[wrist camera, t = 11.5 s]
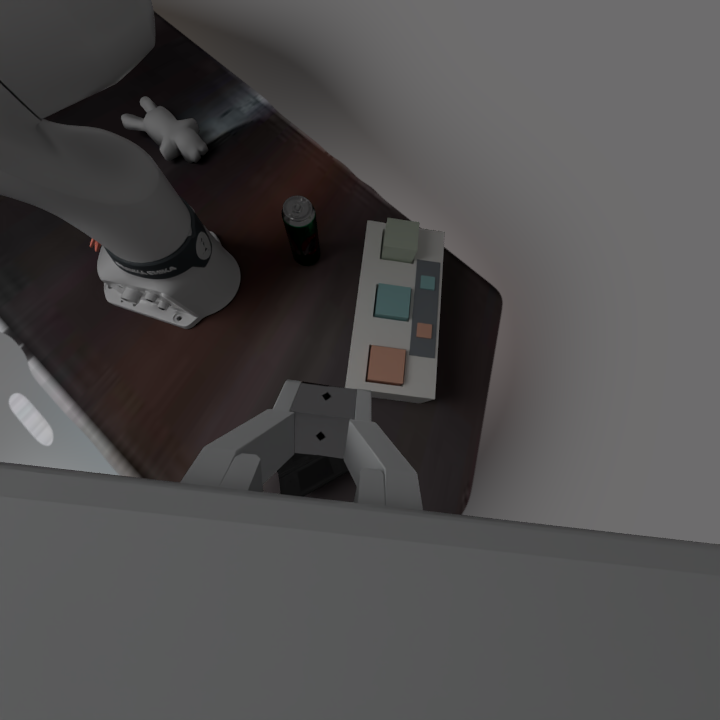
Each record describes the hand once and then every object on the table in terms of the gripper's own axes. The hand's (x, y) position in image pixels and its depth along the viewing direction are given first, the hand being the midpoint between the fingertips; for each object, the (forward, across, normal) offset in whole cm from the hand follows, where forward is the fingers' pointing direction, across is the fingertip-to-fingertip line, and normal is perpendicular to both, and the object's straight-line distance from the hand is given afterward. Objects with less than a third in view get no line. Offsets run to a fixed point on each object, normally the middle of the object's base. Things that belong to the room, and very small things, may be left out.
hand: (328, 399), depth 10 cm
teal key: (+36, -6, +10) cm, 38 cm away
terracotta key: (+29, -6, +17) cm, 35 cm away
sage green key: (+42, -6, +2) cm, 42 cm away
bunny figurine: (+62, +40, -9) cm, 75 cm away
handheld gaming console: (+23, +4, +31) cm, 38 cm away
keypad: (+39, -7, +13) cm, 42 cm away
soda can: (+47, +10, +6) cm, 49 cm away
